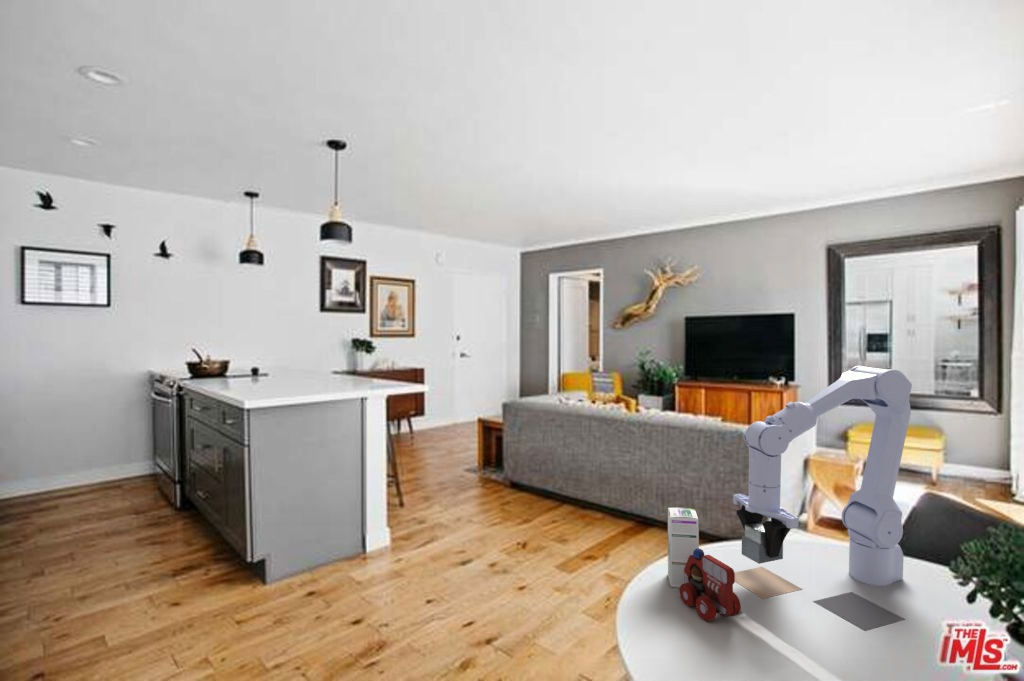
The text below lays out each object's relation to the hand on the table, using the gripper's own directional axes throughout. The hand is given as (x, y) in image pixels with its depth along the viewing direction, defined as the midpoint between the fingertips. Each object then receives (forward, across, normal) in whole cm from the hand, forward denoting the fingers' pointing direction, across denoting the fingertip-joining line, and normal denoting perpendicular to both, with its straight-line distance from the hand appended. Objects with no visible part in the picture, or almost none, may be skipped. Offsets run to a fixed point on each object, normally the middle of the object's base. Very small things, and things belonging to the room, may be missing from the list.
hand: (762, 551), depth 107 cm
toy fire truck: (+8, +2, -15) cm, 17 cm away
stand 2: (+8, +14, +8) cm, 18 cm away
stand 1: (+8, 0, 0) cm, 8 cm away
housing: (+1, 0, 0) cm, 1 cm away
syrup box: (+8, -8, -13) cm, 17 cm away
